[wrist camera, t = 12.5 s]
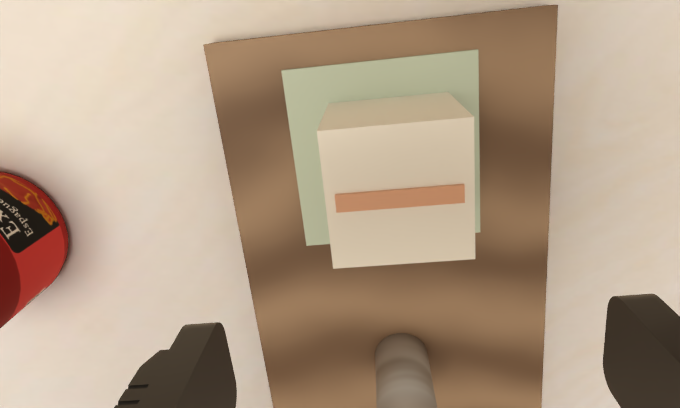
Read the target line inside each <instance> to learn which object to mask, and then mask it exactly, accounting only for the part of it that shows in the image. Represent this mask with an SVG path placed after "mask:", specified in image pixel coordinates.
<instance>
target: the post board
mask: <svg viewBox="0 0 680 408" xmlns="http://www.w3.org/2000/svg"><path fill="white" fill-rule="evenodd" d="M557 10H558V5H546V6H537V7H528V8H519V9H510V10H501V11H492V12H484V13H475V14H466V15H457V16H448V17H439V18H430V19H421V20H413V21H404V22H395V23H386V24H377V25H368V26H359V27H350V28H341V29H333V30H324V31H315V32H306V33H297V34H288V35H279V36H270V37H262V38H253V39H244V40H235V41H226V42H217V43H210V44H205V45H204V50H205V56H206V61H207V66H208V71H209V76H210V81H211V87H212V92H213V97H214V102H215V107H216V112H217V118H218V123H219V128H220V133H221V138H222V144H223V149H224V154H225V159H226V164H227V169H228V175H229V180H230V185H231V190H232V195H233V200H234V206H235V211H236V216H237V221H238V226H239V231H240V237H241V242H242V247H243V252H244V257H245V263H246V268H247V273H248V278H249V283H250V288H251V294H252V299H253V304H254V309H255V314H256V319H257V325H258V330H259V335H260V340H261V345H262V350H263V356H264V361H265V366H266V371H267V376H268V382H269V387H270V392H271V397H272V402H273V407H274V408H541V401H542V377H543V352H544V328H545V303H546V279H547V254H548V230H549V205H550V181H551V156H552V132H553V107H554V83H555V59H556V34H557ZM474 49H478V58H479V151H480V232H479V233H475V259H469V260H455V261H440V262H425V263H410V264H396V265H381V266H366V267H352V268H337V269H333V263H332V255H331V247H330V244H323V245H310V246H306V239H305V232H304V225H303V218H302V211H301V204H300V197H299V190H298V183H297V176H296V169H295V163H294V156H293V149H292V142H291V135H290V128H289V121H288V114H287V107H286V100H285V93H284V86H283V79H282V72H281V70H287V69H296V68H305V67H315V66H324V65H333V64H343V63H352V62H362V61H371V60H380V59H390V58H399V57H408V56H418V55H427V54H436V53H446V52H455V51H465V50H474Z"/></svg>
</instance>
